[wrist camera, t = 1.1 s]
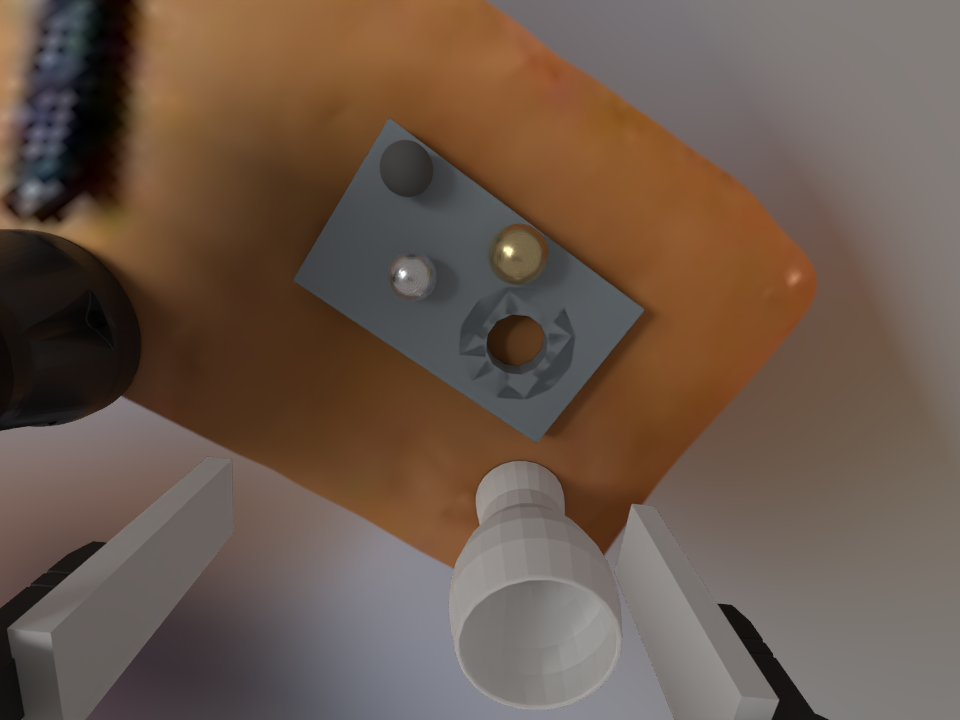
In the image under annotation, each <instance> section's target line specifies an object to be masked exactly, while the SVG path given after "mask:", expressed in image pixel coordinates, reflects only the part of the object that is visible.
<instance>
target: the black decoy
mask: <svg viewBox="0 0 960 720" xmlns="http://www.w3.org/2000/svg"><path fill="white" fill-rule="evenodd" d="M380 174H381V178H382V180H383V182H384V184H385V185H386V186H387V188H388V189H389V190H391V191H392V192H393V193H395V194H397V195H399V196H402V197H413V196H417V195H419V194H421V193H422V192H424V191H425V190H426V189H427V187H428V186H429V184H430V183H431V180H432V176H433V164H432V160H431V158H430V156H429V154H428V152H427V151H426V150H425V149H424V148H423V147H422V146H421V145H420V144H418V143H416V142H414V141H410V140H399V141H396V142H394V143H392V144H390V145H389V146H388V147H387V148H386V149H385V151H384V152H383V154H382V156H381V159H380Z"/></svg>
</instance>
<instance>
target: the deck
mask: <svg viewBox="0 0 960 720" xmlns="http://www.w3.org/2000/svg"><path fill="white" fill-rule="evenodd" d="M399 140H410V141H414V142H416V143H418V144H420V145H421V146H422V147H423V148H424V149H425V150H426V151H427V152H428V154H429V156H430V158H431V160H432V164H433V176H432V180H431V183H430V184H429V186H428V187H427V189H426V190H425V191H424V192H422V193H421V194H419V195H417V196H413V197H402V196H399V195H397V194H395V193H393V192H392V191H391V190H389V189H388V188H387V186H386V185H385V184H384V182H383V180H382V178H381V174H380V159H381V156H382V154H383V152H384V151H385V149H386V148H387V147H388V146H389V145H390V144H392V143H394V142H396V141H399ZM511 224H526V225H529V226H531V227H533V228H535V227H534V226H532V225H531V224H530V223H528V222H527V221H526V220H525V219H523V218H522V217H521V216H519V215H518V214H517V213H515V212H514V211H513V210H511V209H510V208H509V207H507V206H506V205H505V204H503V203H502V202H501V201H499V200H498V199H497V198H495V197H494V196H493V195H491V194H490V193H489V192H487V191H486V190H485V189H483V188H482V187H481V186H479V185H478V184H477V183H475V182H474V181H473V180H471V179H470V178H469V177H467V176H466V175H465V174H463V173H462V172H461V171H459V170H458V169H457V168H455V167H454V166H453V165H451V164H450V163H449V162H447V161H446V160H445V159H443V158H442V157H441V156H439V155H438V154H437V153H435V152H434V151H433V150H431V149H430V148H429V147H427V146H426V145H425V144H423V143H422V142H421V141H419V140H418V139H417V138H415V137H414V136H413V135H411V134H410V133H409V132H407V131H406V130H405V129H403V128H402V127H401V126H399V125H398V124H397V123H395V122H394V121H393V120H391V119H390V118H389V119H388V121H387V122H386V124H385V126H384V127H383V129H382V131H381V132H380V134H379V136H378V137H377V139H376V141H375V142H374V144H373V146H372V148H371V149H370V151H369V153H368V154H367V156H366V158H365V159H364V161H363V163H362V164H361V166H360V168H359V169H358V171H357V173H356V174H355V176H354V178H353V180H352V181H351V183H350V185H349V186H348V188H347V190H346V191H345V193H344V195H343V196H342V198H341V200H340V201H339V203H338V205H337V207H336V208H335V210H334V212H333V213H332V215H331V217H330V218H329V220H328V222H327V223H326V225H325V227H324V228H323V230H322V232H321V234H320V235H319V237H318V239H317V240H316V242H315V244H314V245H313V247H312V249H311V250H310V252H309V254H308V255H307V257H306V259H305V261H304V262H303V264H302V266H301V267H300V269H299V271H298V272H297V274H296V276H295V277H294V279H293V281H294V282H296V283H297V284H299V285H300V286H302V287H303V288H305V289H306V290H308V291H309V292H311V293H312V294H314V295H315V296H317V297H318V298H320V299H321V300H323V301H324V302H326V303H327V304H329V305H330V306H332V307H333V308H335V309H336V310H338V311H339V312H341V313H342V314H344V315H345V316H347V317H348V318H350V319H351V320H353V321H354V322H356V323H357V324H359V325H360V326H362V327H363V328H365V329H366V330H368V331H369V332H371V333H372V334H374V335H375V336H377V337H378V338H380V339H381V340H383V341H384V342H386V343H387V344H389V345H390V346H392V347H393V348H395V349H396V350H398V351H399V352H401V353H402V354H404V355H405V356H407V357H408V358H410V359H411V360H413V361H414V362H416V363H417V364H419V365H420V366H422V367H423V368H425V369H426V370H428V371H429V372H431V373H432V374H434V375H435V376H437V377H438V378H440V379H441V380H443V381H444V382H446V383H447V384H449V385H450V386H452V387H453V388H455V389H456V390H458V391H459V392H461V393H462V394H463V395H465V396H466V397H468V398H469V399H471V400H472V401H474V402H475V403H477V404H478V405H480V406H481V407H483V408H484V409H486V410H487V411H489V412H490V413H492V414H493V415H495V416H496V417H498V418H499V419H501V420H502V421H504V422H505V423H507V424H508V425H510V426H511V427H513V428H514V429H516V430H517V431H519V432H520V433H522V434H523V435H525V436H526V437H528V438H529V439H531V440H532V441H534V442H535V443H537V442H538V441H539V440H540V439H541V437H542V436H543V435H544V434H545V432H546V431H547V430H548V429H549V427H550V426H551V425H552V424H553V423H554V421H555V420H556V419H557V418H558V416H559V415H560V414H561V413H562V411H563V410H564V409H565V408H566V406H567V405H568V404H569V403H570V402H571V400H572V399H573V398H574V397H575V395H576V394H577V393H578V392H579V390H580V389H581V388H582V387H583V385H584V384H585V383H586V382H587V381H588V379H589V378H590V377H591V376H592V374H593V373H594V372H595V371H596V369H597V368H598V367H599V366H600V364H601V363H602V362H603V361H604V360H605V358H606V357H607V356H608V355H609V353H610V352H611V351H612V350H613V348H614V347H615V346H616V345H617V343H618V342H619V341H620V340H621V339H622V337H623V336H624V335H625V334H626V332H627V331H628V330H629V329H630V327H631V326H632V325H633V324H634V322H635V321H636V320H637V319H638V317H639V316H640V315H641V314H642V313H643V311H644V309H643V308H642V307H640V306H639V305H638V304H636V303H635V302H634V301H632V300H631V299H630V298H628V297H627V296H626V295H624V294H623V293H622V292H620V291H619V290H618V289H616V288H615V287H614V286H612V285H611V284H610V283H608V282H607V281H606V280H604V279H603V278H602V277H600V276H599V275H598V274H596V273H595V272H594V271H592V270H591V269H590V268H588V267H587V266H586V265H584V264H583V263H582V262H580V261H579V260H578V259H576V258H575V257H574V256H572V255H571V254H570V253H568V252H567V251H566V250H564V249H563V248H562V247H560V246H559V245H558V244H556V243H555V242H554V241H552V240H551V239H550V238H548V237H547V236H546V235H544V234H543V233H542V232H540V231H539V230H538V229H536V228H535V229H536V230H537V231H539V232H540V233H541V235H542V236H543V237H544V239H545V241H546V244H547V247H548V260H547V264H546V267H545V269H544V270H543V272H542V273H541V275H540V276H539V277H538V278H536V279H535V280H534V281H532V282H530V283H527V284H524V285H511V284H507V283H505V282H503V281H502V280H500V279H499V278H498V277H497V276H496V275H495V274H494V273H493V271H492V270H491V268H490V265H489V262H488V248H489V245H490V242H491V240H492V238H493V237H494V235H495V234H496V233H497V232H498V231H499V230H501V229H502V228H504V227H505V226H508V225H511ZM405 251H418V252H421V253H423V254H425V255H426V256H427V257H429V258H430V259H431V261H432V262H433V264H434V265H435V268H436V271H437V282H436V285H435V288H434V290H433V291H432V292H431V294H430V295H429V296H427V297H426V298H424V299H422V300H419V301H406V300H403V299H401V298H399V297H398V296H396V295H395V294H394V293H393V292H392V290H391V289H390V287H389V285H388V282H387V269H388V266H389V264H390V262H391V261H392V259H393V258H394V257H395V256H397V255H398V254H400V253H402V252H405ZM510 315H523V316H529V317H531V318H532V319H533V320H535V321H536V322H538V323H539V324H540V325H541V328H542V330H543V332H544V336H543V344H542V348H541V350H540V351H539V352H538V354H537V355H536V356H535V357H534V359H533V360H531V361H529V362H526V363H524V364H522V365H519V366H518V365H507V364H503V363H502V362H500V361H499V360H497V359H496V358H495V357H493V356H492V354H491V352H490V350H489V348H488V346H487V335H488V333H489V332H490V330H491V329H492V328H493V326H494V325H495V323H496V322H497V321H499V320H501V319H503V318H505V317H508V316H510Z"/></svg>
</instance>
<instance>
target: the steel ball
mask: <svg viewBox="0 0 960 720" xmlns="http://www.w3.org/2000/svg"><path fill="white" fill-rule="evenodd" d="M387 282H388V285H389V287H390V289H391V290H392V292H393V293H394V294H395V295H396V296H398V297H399V298H401V299H403V300H406V301H419V300H422V299H424V298H426V297H427V296H429V295H430V294H431V292H432V291H433V290H434V288H435V285H436V282H437V271H436V268H435V265H434V264H433V262H432V261H431V259H430V258H429V257H427V256H426V255H425V254H423V253H421V252H418V251H405V252H402V253H400V254H398V255H397V256H395V257H394V258H393V259H392V261H391V262H390V264H389V266H388V269H387Z"/></svg>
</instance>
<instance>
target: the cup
mask: <svg viewBox="0 0 960 720" xmlns="http://www.w3.org/2000/svg"><path fill="white" fill-rule="evenodd" d="M476 510H477V516H478V520H479V523H480V526H479V527H478V528H477V529H476V530H475V531H474V532H473V534H472V535H471V537H470V538H469V540H468V541H467V543H466V545H465V546H464V548H463V550H462V552H461V554H460V556H459V558H458V559H457V561H456V564H455V567H454V571H453V575H452V578H451V585H450V595H449V621H450V627H451V632H452V637H453V642H454V648H455V653H456V656H457V659H458V662H459V664H460V667H461V670H462V672H463V673H464V674H465V676H466V677H467V678H468V680H469V681H470V682H471V683H472V685H473V686H474V687H475V688H477V689H478V690H479V691H480V692H482V693H483V694H484V695H486V696H487V697H488V698H490V699H493V700H495V701H497V702H499V703H502V704H504V705H506V706H510V707H515V708H520V709H525V710H549V709H554V708H559V707H564V706H568V705H570V704H573V703H575V702H577V701H580V700H582V699H584V698H586V697H588V696H589V695H590V694H592V693H593V692H594V691H596V690H597V689H598V688H600V687H601V686H602V685H603V684H604V683H605V682H606V680H607V679H608V678H609V677H610V675H611V674H612V673H613V672H614V669H615V667H616V664H617V662H618V659H619V657H620V655H621V647H622V623H621V608H620V600H619V595H618V592H617V588H616V584H615V581H614V579H613V576H612V573H611V570H610V568H609V565H608V563H607V560H606V559H605V557H604V556H603V554H602V552H601V551H600V549H599V547H598V546H597V545H596V544H595V543H594V541H593V540H592V539H591V538H590V537H589V536H588V535H587V534H586V533H585V532H584V531H583V530H582V529H581V528H580V527H579V526H578V525H577V524H576V523H575V522H573V521H572V520H571V519H570V518H568V517H566V516H565V501H564V494H563V490H562V486H561V484H560V483H559V481H558V479H557V478H556V476H555V475H554V474H553V473H551V472H550V471H549V470H548V469H547V468H545V467H543V466H541V465H539V464H537V463H532V462H528V461H513V462H509V463H505V464H502V465H500V466H498V467H496V468H494V469H492V470H491V471H490V472H489V473H488V474H487V475H486V476H485V477H484V478H483V480H482V481H481V483H480V485H479V486H478V490H477V493H476Z"/></svg>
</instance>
